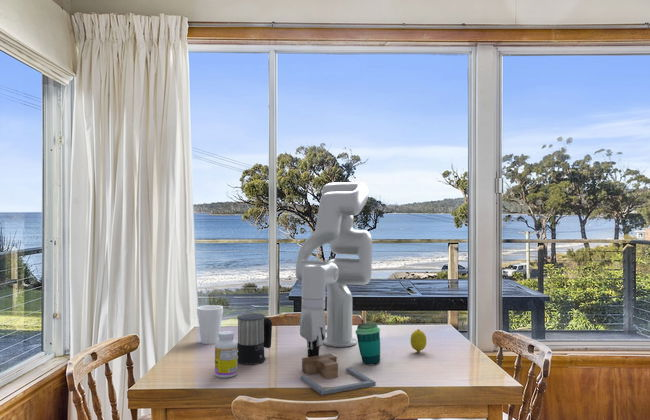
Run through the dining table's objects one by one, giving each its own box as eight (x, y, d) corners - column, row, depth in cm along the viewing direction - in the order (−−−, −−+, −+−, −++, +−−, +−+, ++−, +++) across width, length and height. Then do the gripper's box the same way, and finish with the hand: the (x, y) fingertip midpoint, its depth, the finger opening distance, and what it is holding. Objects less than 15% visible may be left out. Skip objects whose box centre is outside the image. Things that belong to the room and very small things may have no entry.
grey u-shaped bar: (300, 379, 147) (300, 375, 147) (350, 370, 155) (350, 367, 155) (321, 395, 134) (321, 391, 134) (375, 385, 142) (375, 381, 142)
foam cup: (224, 344, 186) (224, 308, 186) (198, 346, 182) (198, 310, 182) (220, 337, 195) (220, 304, 195) (196, 339, 191) (196, 305, 191)
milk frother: (257, 366, 159) (257, 319, 159) (213, 361, 164) (213, 316, 164) (275, 354, 173) (275, 311, 173) (234, 350, 177) (234, 308, 177)
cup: (373, 367, 158) (373, 329, 158) (350, 363, 162) (351, 326, 162) (384, 361, 165) (384, 324, 165) (362, 357, 169) (362, 321, 169)
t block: (302, 370, 155) (302, 357, 155) (330, 366, 159) (330, 353, 159) (317, 380, 146) (317, 366, 146) (346, 375, 151) (346, 361, 151)
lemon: (426, 354, 172) (426, 331, 172) (410, 353, 173) (410, 330, 173) (426, 350, 178) (426, 327, 178) (410, 349, 179) (410, 327, 179)
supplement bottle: (216, 371, 154) (216, 329, 154) (238, 371, 154) (238, 329, 154) (213, 379, 147) (213, 335, 147) (236, 378, 147) (236, 334, 148)
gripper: (293, 300, 164) (293, 356, 164) (312, 308, 150) (312, 369, 150) (314, 298, 167) (314, 353, 167) (334, 306, 154) (334, 366, 154)
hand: (313, 361), depth 159 cm, fingers closed
